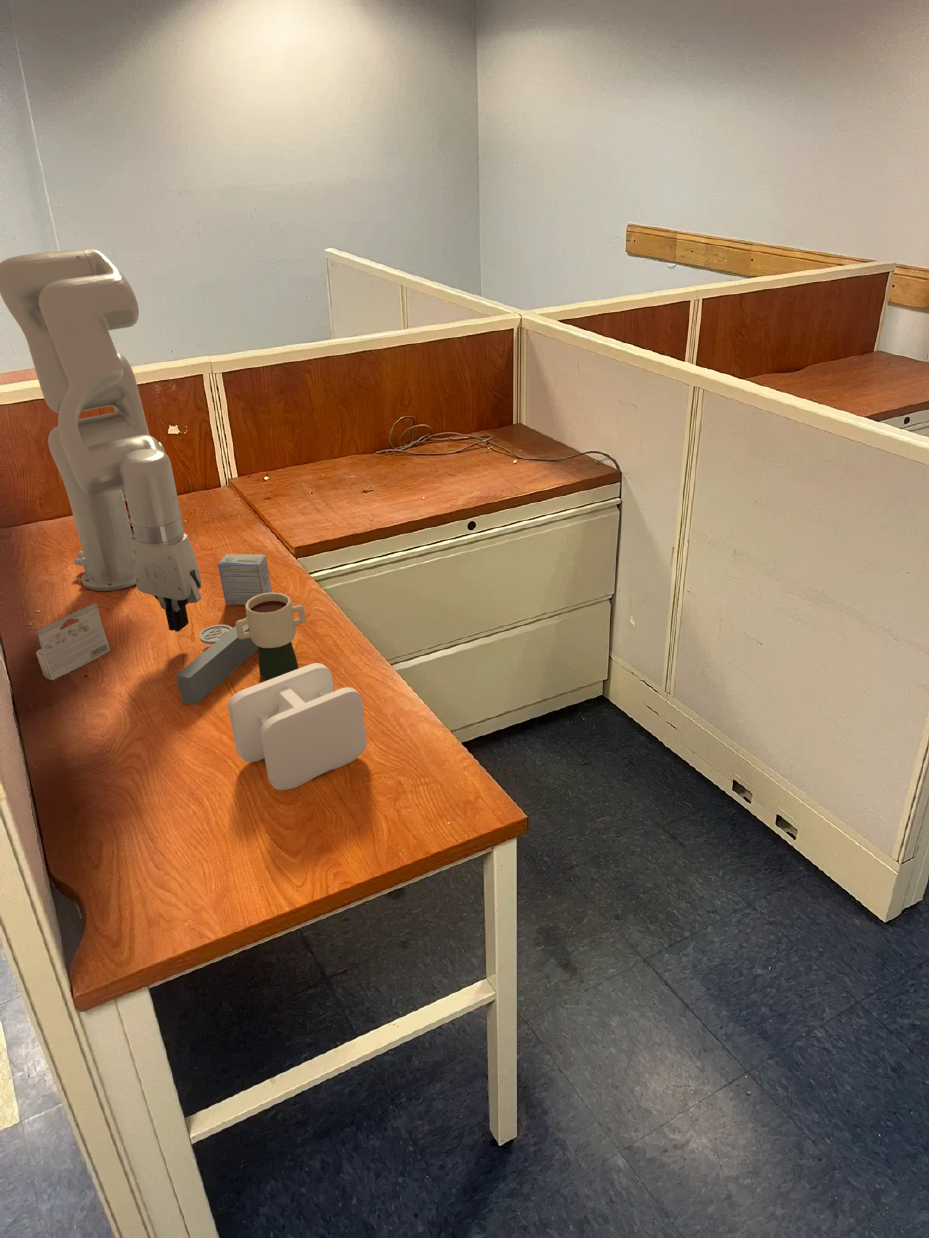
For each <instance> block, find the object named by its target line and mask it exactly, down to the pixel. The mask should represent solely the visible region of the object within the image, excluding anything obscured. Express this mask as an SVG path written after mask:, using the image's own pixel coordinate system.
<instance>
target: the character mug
mask: <svg viewBox="0 0 929 1238" xmlns="http://www.w3.org/2000/svg"><path fill="white" fill-rule="evenodd" d="M287 595H288V594H285V593H282V592H273V591H272V592H271V593H263V594H259V595H257V596H254V597H252V598H251V599H249V600H248V601H247V603H246V604H245V605H244V606H245V614H246V617H247V618H246V617H244V618H245V619H244V618H243V619H238V620H236V622H235V626H236V630H237V635H238V638H239V639H246V638H250V637H251V640H252V641H253V642H254V643H255V644H256V645H257V646H259V647H258V648H259V649H258V669H259V671H258V672H259V676H261V677H262V678H263V679H266V680H270V679H273V678H275V677H278V676H281V675H283V674H286V673H288V672H291V671H294V670H296V669H299V664H298V659H297V656H296V653H295V649H294V647H293V643H292V641H293V640H294V638H295V636H296V633H297V631H296V626H298V625H301V624H304V623H305V622H306V611H305V607H304V605H303V604H297V605H294V606H293V604H292V599H291V597H290V596H287ZM297 612H298V618H296V619H295V617H294V616H295V615H294V613H297ZM247 624H248V626H249V632H245V633H244V632H243V627H242V626H243V625H247Z"/></svg>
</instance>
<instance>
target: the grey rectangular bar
mask: <svg viewBox="0 0 929 1238" xmlns="http://www.w3.org/2000/svg"><path fill="white" fill-rule="evenodd" d="M286 595H287V596H288V594H286ZM245 618H247V616H246V617H244V618H243V619H245ZM242 627H243V632H244V633H245V632H249V626H248V624H247V625H243V626H242ZM210 646H211V647H209V646H208V647H209V648H208V649H207V650H206V651H204V652H203V651H202V653H201V654H199V655H198V656H197V657H196V658H195V659H193V661H191V662H190V663H189V664H188V665H186V666H185V667H184V668H183V669H181V670H180V671H179V672H178V673H177V674H176V675H175V678H176V682H177V686H178V687H177V688H178V691H179V696H180V699H181V703H183V704H188V705H191V706H197V705H198V704H199V703H200V702H201V701H202V700H203V699H205V698H206V696H208V695H209V694H210V693H211V692H212V691H213V690H215V689H216V688H217V687H218V686H219V685H220V684H221V683H222V682H224V680H226V679H227V678H228V677H229V676H231V674H232V673H234V672H235V671H236V670H237V669H238V668H239V667H240V666H241V665H242V664H243V663H245V662H246V661H247V660H248V659H249V658H250V657H251V656H253V654H255V653H257V651H259V648H258V647H259V646H257V645H256V644H255V643H254V642H253V641H252V640H251V637H250V638H246V639H239V638H238V635H237V630H236V625H235V626H233V627H232V629H231V630H230V631H229V632H228V633H226V634H225V635H224V636H223V637H221V638H220V639H219V640H218V641H217V642H215V643H214V644H211V645H210Z"/></svg>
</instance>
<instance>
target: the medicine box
mask: <svg viewBox="0 0 929 1238" xmlns="http://www.w3.org/2000/svg"><path fill="white" fill-rule="evenodd" d="M220 559H221V560H220V561H219V562H218V563H217V568H218V572H219V577H220V584H221V589H222V592H223V598H224V604H225V606H245V604H246V603H247V601H248V600H249V599H251V598H252V597H254V596H257V595H259V594H263V593H271V592H273V590H272V583H271V578H270V572H269V566H268V560H267V555H266V554H260V553H259V554H257V553H255V554H254V553H249V554H248V553H226V554H225V555H224V556H223V557H222V558H220Z"/></svg>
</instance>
